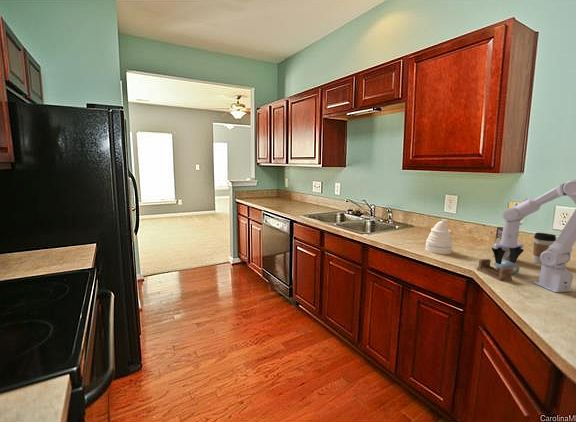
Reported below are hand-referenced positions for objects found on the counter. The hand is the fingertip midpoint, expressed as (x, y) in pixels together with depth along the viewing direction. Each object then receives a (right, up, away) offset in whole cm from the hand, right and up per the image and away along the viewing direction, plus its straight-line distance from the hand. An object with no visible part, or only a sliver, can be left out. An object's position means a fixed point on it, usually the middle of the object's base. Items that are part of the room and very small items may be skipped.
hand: (505, 263), depth 139 cm
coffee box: (+12, -1, +18) cm, 21 cm away
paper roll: (0, -4, +1) cm, 4 cm away
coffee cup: (+28, -2, +14) cm, 31 cm away
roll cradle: (-8, -4, -4) cm, 10 cm away
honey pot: (-16, +2, +30) cm, 34 cm away
